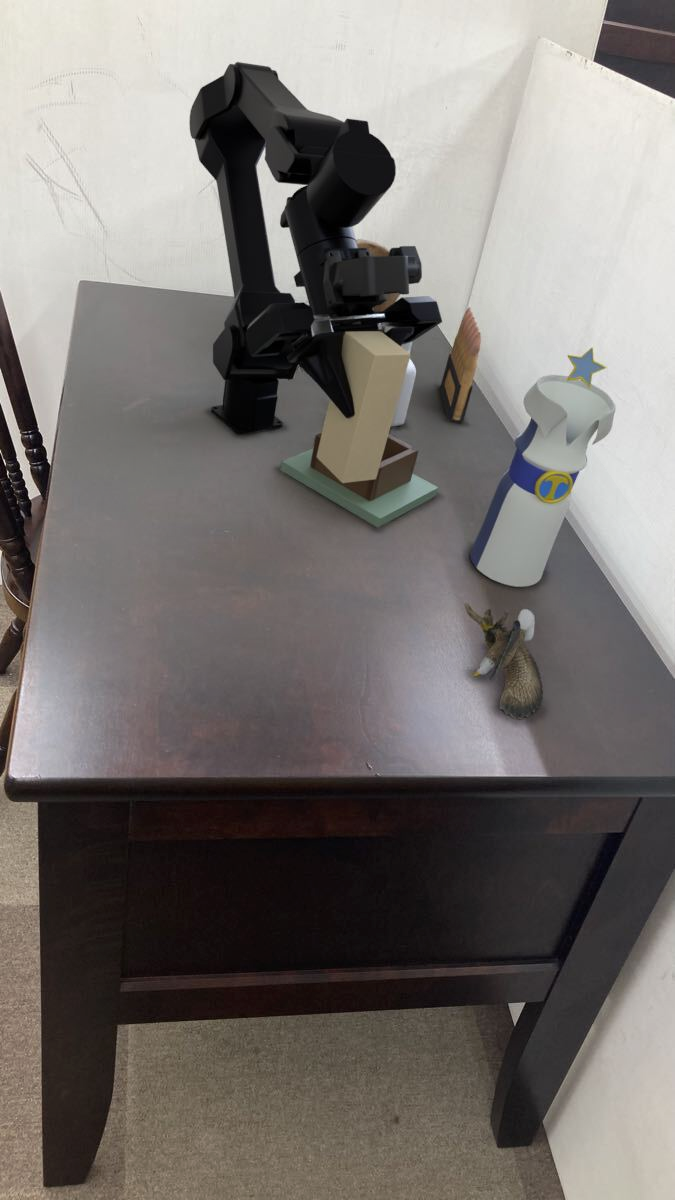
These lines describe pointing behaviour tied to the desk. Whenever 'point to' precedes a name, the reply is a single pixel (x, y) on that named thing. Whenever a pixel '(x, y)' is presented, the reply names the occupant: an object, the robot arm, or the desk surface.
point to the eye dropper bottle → (405, 391)
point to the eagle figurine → (511, 661)
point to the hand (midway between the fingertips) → (369, 414)
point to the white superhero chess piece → (542, 474)
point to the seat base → (367, 483)
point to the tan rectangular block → (364, 406)
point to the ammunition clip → (461, 368)
